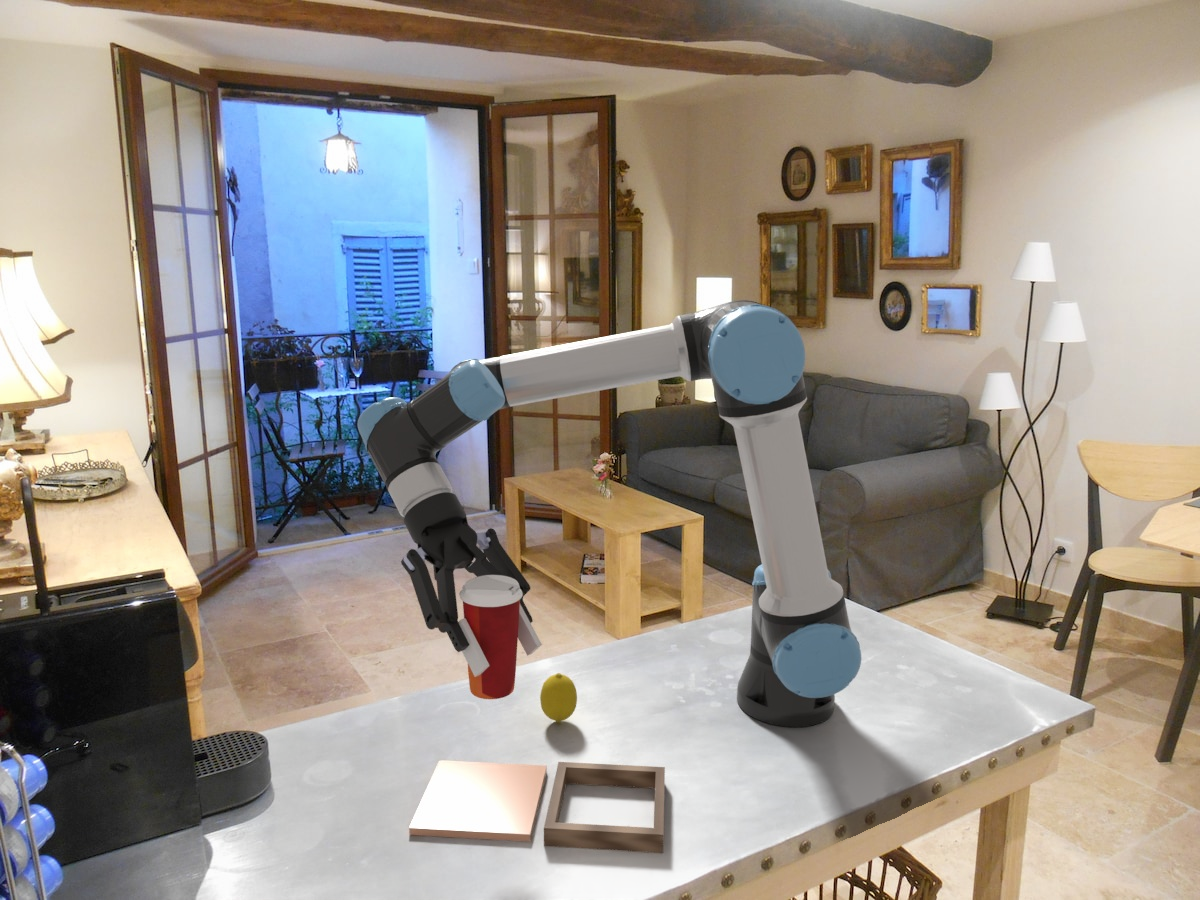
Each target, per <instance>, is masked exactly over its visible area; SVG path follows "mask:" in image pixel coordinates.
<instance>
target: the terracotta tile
mask: <svg viewBox="0 0 1200 900" xmlns="http://www.w3.org/2000/svg"><path fill="white" fill-rule="evenodd" d="M547 769H548V767H547V765H542V764H541V765H540V764H523V763H522V764H521V763H520V764H518V763H499V762H482V761H481V762H480V761H464V760H463V761H461V760H459V761H458V760H441V759H439V761H438V763H437V765H436V767H435V769H434V771H433V774H432V775H431V778H430V780H429V782H428V784H427V787H426V789H425V791H424V794H423V796H422V798H421V800H420V803H419V805H418V807H417V809H416V811H415V814H414V816H413V819H412V820H411V823H410V825H409V827H408V830H409V833H408V835H409V836H426V837H442V838H458V839H459V838H461V839H475V840H478V839H479V840H496V841H509V842H510V841H511V842H513V841H514V842H531V839H532V836H533V831H534V827H535V823H536V819H537V814H538V811H539V805H540V802H541V798H542V793H543V790H544V785H545V781H546V776H547V772H548V771H547Z"/></svg>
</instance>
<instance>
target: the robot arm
mask: <svg viewBox="0 0 1200 900" xmlns="http://www.w3.org/2000/svg"><path fill="white" fill-rule="evenodd" d="M805 364H806V350H805V344H804V340H803V337H802V335H801V333H800V331H799V329H798V327H797V326H796V325H795V324H794V322H793V321H792V320H791V319H790V318H789V317H788V316H787V315H785V314H784V313H783V312H781V311H780V310H779V309H776V308H774V307H771V306H768V305H765V304H762V303H760V302H757V301H753V300H747V299H743V300H742V299H741V300H740V299H739V300H733V301H729V302H725V303H722V304H719V305H716V306H713V307H710V308H706V309H703V310H698V311H695V312H691V313H685V314H679V315H676V316H675V318H674V319H673V320H672V322H671V323H670V324H666V325H661V326H655V327H649V328H643V329H639V330H633V331H628V332H621V333H617V334H612V335H611V334H610V335H607V336H602V337H597V338H591V339H586V340H580V341H574V342H570V343H569V342H568V343H565V344H564V343H563V344H560V345H559V344H558V345H553V346H548V347H543V348H538V349H531V350H527V351H526V350H525V351H521V352H516V353H511V354H505V355H501V356H496V357H489V358H484V359H479V358H471V359H467V360H463V361H460V362H458V363H457V364H455V365H454V366H453V367H452V368H451V370H450V371H449V372H448V373H447V374H446V375H445V376H443V378H441V379H440V380H439V381H438V382H436V383H435V384H434V385H431V387H429V388H428V389H426V390H425V391H424V392H423V393H421V394H419V396H417V397H416V398H415V399H413V400H411V401H410V402H406V401H405V400H404V399H402V397H396V396H393V397H386V398H383V399H381V400H380V401H379V402H374V403H372V404H370V405H369V406H367V407H366V408H365V409H364V410H363V411H362V412H361V414H360V415H359V417H358V419H357V430H358V433H359V435H360V436H361V439H362V441H363V444H364V446H365V451H366V452H367V455H369V457H370V459H371V460H372V463H373V464H374V466H375V469H376V470H377V471H378V473H379V475H380V477H381V479H382V482H383V483H384V485H385V488H386V489H387V491H388V493H389V495H390V497H391V499H392V501H393V502H394V505H395V507H396V509H397V511H398V513H399V514H400V516H401V517H403V523H404V525H405V528H406V529H407V531H408V533H409V535H410V537H411V539H412V541H413V542H414V543H415V544H416V545H417V548H416V549H413V548H411V549H409V550H408V551H407V553H406V554H405V555H404V556H403V558H402V559H401V561H400V563H401V565H402V567H403V568H404V569H405V571H406V572H407V574H408V575H409V577H410V579H411V583H412V586H413V589H414V593H415V595H416V598H417V602H418V604H419V607H420V610H421V613H422V617H423V619H424V622H425V625H426V628H428V629H429V630H435V629H438V631H439V632H440V633H443V634H444V633H445V634H447V636H448V638H449V640H450V642H451V644H452V646H453V648H454V649H455V651H456V652H457V653H460V652H461V653H462V654H463V657H464V658H465V661H466V663H467V666H468V665H469V667H470V669H471V671H472V672H473V674H474V676H475V677H476V676H479V675H480V674H481V673H482V672H484V671H485V670H486V669H487V668H488V667H489V666H490V665H489V663H488V661H487V660H486V658H485V656H484V654H483V652H482V650H481V648H480V646H479V644H478V642H477V640H476V638H475V636H474V634H473V632H472V630H471V628H470V626H469V624H468V622H467V620H466V618H464V617H463V618H462V619H460V620H459V612H458V602H457V594H456V593H457V592H456V584H455V575H454V571H455V570H457V569H459V570H460V569H462V570H463V569H465V570H466V571H467V572H468V573H469V574H473V575H475V577H479V576H484V575H502V576H508V577H511V578H513V579H515V580H516V581H517V582H518V583H519V586H520V589H521V590H522V593H523V596H522V598H521V599H520V607H519V626H518V642H520V644H521V646H522V649H523V650H524V652H525V654H526V656H530V655H532V654H533V653H535V652H536V651H537V650H538V649H539V648H540V647H541V646H542V645H543V644H542V642H541V640H540V638H539V635H537V632H536V631H535V628H534V627H533V626H532V623H533V617H532V615H531V613H530V611H529V610H528V608H527V606H526V604H525V602H524V596H526V595H527V594H528V593H529V591H531V585H530V583H529V582H528V581H527V579H526V578H525V577H524V575H523V573H522V572H521V571H520V570H519V568H518V567H517V565H516V564H515V563H514V561H513V560H512V559H511V557H510V556H509V554H508V553H507V552H506V550H505V548H504V547H503V546H502V545H501V543H500V541H499V538H498V534H497V532H496V530H495V529H494V528H491V527H489V528H488V529H487V530H486V531H484V532H483V531H482V532H477V531H476V530H475V529H473V528H472V527H471V526H470V525H469V522H468V516H467V513H466V511H465V510H464V508H463V505H462V503H461V502H460V500H459V498H458V496H457V495H456V494H455V493H453V490H454V489H453V486H452V484H451V483H450V480H449V479H448V477H447V475H446V474H445V472H444V470H443V469H442V466H441V465H440V463H439V461H438V459H437V457H436V453H437V452H439V451H440V450H442V449H443V448H445V447H446V446H447V445H449V444H450V443H452V442H454V441H455V440H456V439H458V438H460V437H461V436H463V435H464V434H465V433H467V432H468V431H470V430H471V429H474V427H476V426H477V425H479V424H480V423H482V422H483V421H488V420H489V419H490V417H491V416H492V415H493V414H494V413H496V412H498V411H499V410H502V409H507V408H512V407H516V406H523V405H527V404H532V403H537V402H544V401H549V400H553V399H554V400H555V399H559V398H565V397H566V398H567V397H571V396H576V395H577V396H578V395H583V394H588V393H593V392H598V391H604V390H610V389H611V390H612V389H616V388H620V387H621V388H622V387H626V386H633V385H638V384H643V383H648V382H649V383H650V382H654V381H659V380H661V381H662V380H665V379H671V378H677V377H679V378H680V377H681V378H682V379H684V380H685V381H687V382H694V381H698V380H709V379H711V381H712V387H713V391H714V396H715V400H716V405H717V411H718V416H719V418H721V419H722V420H724V421H725V422H727V423H729V424H730V425H731V426H732V427H733V431H734V436H735V440H736V445H737V450H738V455H739V459H740V464H741V465H740V466H741V469H742V475H743V478H744V479H743V480H744V483H745V489H746V493H747V499H748V503H749V507H750V512H751V513H750V514H751V518H752V522H753V527H754V533H755V536H756V542H757V547H758V551H759V557H760V561H761V564H760V565H758V566H757V567H756V568H755V569H754V574H753V580H752V582H751V585H752V588H753V589H752V606H751V608H752V609H751V625H750V626H751V631H750V633H751V634H750V649H749V651H750V652H749V656H748V659H747V660H746V663H745V665H744V669H743V671H742V673H741V675H740V678H739V681H738V682H737V689H736V691H737V692H736V702H737V705H738V707H739V708H740V709H741V710H742V711H743V712H744V713H746V714H747V715H748V716H750V717H752V718H754V719H755V720H757V721H761V722H762V723H763V722H764V723H766V724H770V725H775V726H781V727H791V728H797V727H798V728H800V727H801V728H803V727H809V726H815V725H818V724H821V723H823V722H825V721H827V720H828V719H830V718H831V716H832V715H833V713H834V710H835V700H836V698H835V697H836V696H835V695H836V694H839V693H840V692H841V691H843V690H845V689H846V688H847V687H848V686H849V685H850V684H851V682H852V681H853V680H854V679H855V678H856V677H857V675H858V673H859V671H860V668H861V665H862V651H861V645H860V642H859V640H858V637H857V636H856V635H855V634H854V633H853V631H852V628H851V625H850V621H849V616H848V615H849V614H848V610H847V603H846V599H845V595H844V594H845V593H844V589H843V587H842V585H841V584H840V583H839V582H837V581H835V580H834V579H832V574H831V571H830V570H829V568H828V565H827V559H826V555H825V554H826V553H825V549H824V544H823V538H822V534H821V533H822V532H821V529H820V528H821V527H820V523H819V517H818V512H817V507H816V502H815V496H814V491H813V486H812V480H811V475H810V469H809V466H808V459H807V454H806V449H805V445H804V438H803V433H802V428H801V427H802V426H801V423H800V418H799V413H800V411H801V409H802V407H803V406H804V405H805V403H807V400H808V397H807V396H808V395H807V390H806V384H805V380H804V369H805ZM477 545H478V546H477ZM474 559H475V561H474ZM426 561H427V562H428V563H430V564H431V565H433V567H432V568H433V576H434V577H433V579H434V580H435V582H436V589H437V592H436V589H435V586H434V584H433V581H432V577H431V575H430V572H429V568H428V566H427V564H426Z"/></svg>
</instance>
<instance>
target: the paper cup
mask: <svg viewBox="0 0 1200 900" xmlns="http://www.w3.org/2000/svg"><path fill="white" fill-rule="evenodd" d="M461 588H462V589H461V590H460V591H459V593H458V594H459V598H460V600H461V601H462V611H463V619H464V618H466V620H467V622H468V624H469V626H470V628H471V630H472V632H473V634H474V636H475V638H476V640H477V642H478V644H479V646H480V648H481V650H482V652H483V654H484V656H485V658H486V660H487V661H488V663H489V665H490V666H489V667H488V668H487V669H486V670H485V671H484V672H482V673H481V674H480V675H479V676H476V677H475V676H474V674H473V672H472V671H471V669H470V667H469V665H468V664H467V670H468V681H469V683H468V684H469V690H470V693H471V694H472V695H473V696H474V697H476V698H479V699H483V700H497V699H502V698H506V697H507V696H509V695H511V694H512V693H513V692H514V690H515V685H516V684H515V682H516V672H517V671H516V669H517V653H518V642H519V639H518V626H519V607H520V599H521V598H522V596H523V593H522V590H521V589H520V586H519V583H518V582H517V581H516V580H515V579H513V578H511V577H508V576H502V575H484V576H479V577H477V576H475V577H473V578H470V579H469V580H466V582H465V583H464V584H463V585H462V587H461ZM523 597H524V596H523Z"/></svg>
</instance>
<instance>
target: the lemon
mask: <svg viewBox="0 0 1200 900" xmlns="http://www.w3.org/2000/svg"><path fill="white" fill-rule="evenodd" d="M577 694H578V693H577V689H576V686H575V684H574V682H573V680H572V679H571V678H570V677H568V676H567V675H565V674H562V673H559V672H558V673H556V674H553V675H550V676H549V677H548V678H547V679H545V681H544V682H543V684H542V687H541V690H540V697H539V699H540V707H541V710H542V712H543V714H544V715H545V716H546V717H547V718H549V719H550V720H551V721H552V720H553V721H555V722H556V723H561V722H562V721H564V720H567V719H569V718H570V717H571V716H572V715H573V713H574V712H575V710H576V708H577V703H578V695H577Z"/></svg>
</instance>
